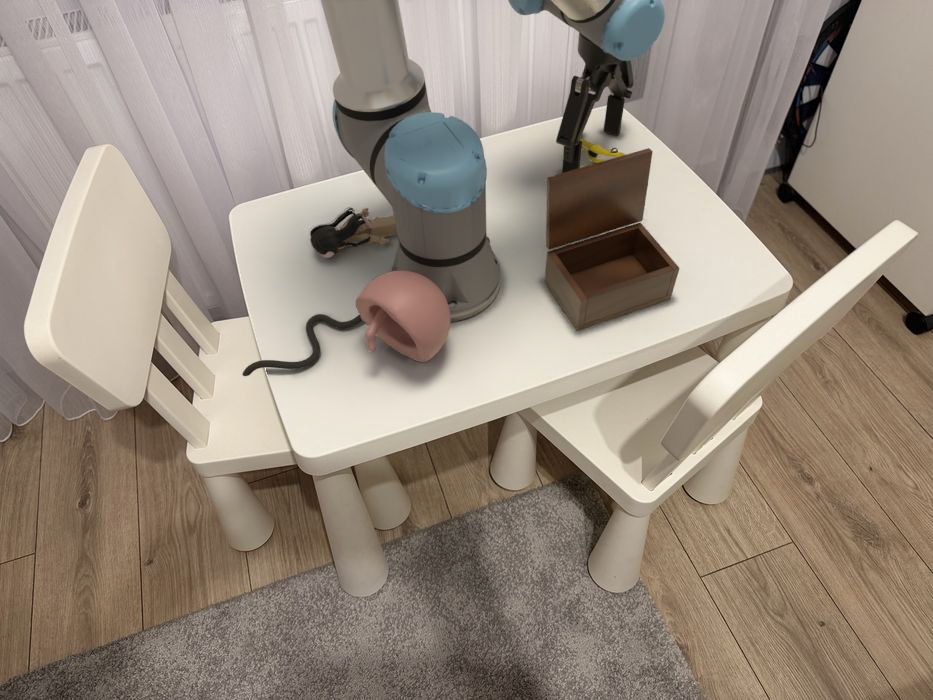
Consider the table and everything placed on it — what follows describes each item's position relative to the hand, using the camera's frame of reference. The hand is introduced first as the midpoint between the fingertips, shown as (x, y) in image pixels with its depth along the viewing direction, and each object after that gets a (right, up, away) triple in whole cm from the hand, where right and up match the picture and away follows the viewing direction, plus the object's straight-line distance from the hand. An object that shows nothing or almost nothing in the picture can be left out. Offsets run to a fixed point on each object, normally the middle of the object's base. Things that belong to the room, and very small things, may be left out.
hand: (591, 153), depth 113 cm
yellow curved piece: (0, 0, 0) cm, 0 cm away
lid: (-4, -14, -26) cm, 29 cm away
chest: (-1, -25, -19) cm, 31 cm away
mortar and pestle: (-24, -26, -29) cm, 46 cm away
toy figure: (-37, -16, -11) cm, 41 cm away
